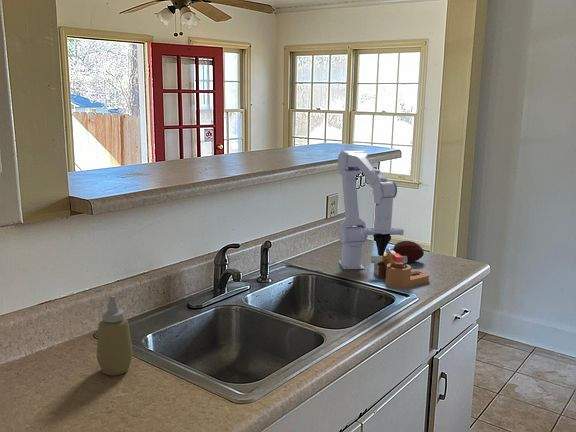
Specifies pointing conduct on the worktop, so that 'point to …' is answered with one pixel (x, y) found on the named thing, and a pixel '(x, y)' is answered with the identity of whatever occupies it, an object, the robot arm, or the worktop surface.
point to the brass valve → (383, 264)
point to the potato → (409, 250)
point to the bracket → (404, 276)
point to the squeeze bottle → (114, 341)
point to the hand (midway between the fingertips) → (380, 255)
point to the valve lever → (394, 255)
